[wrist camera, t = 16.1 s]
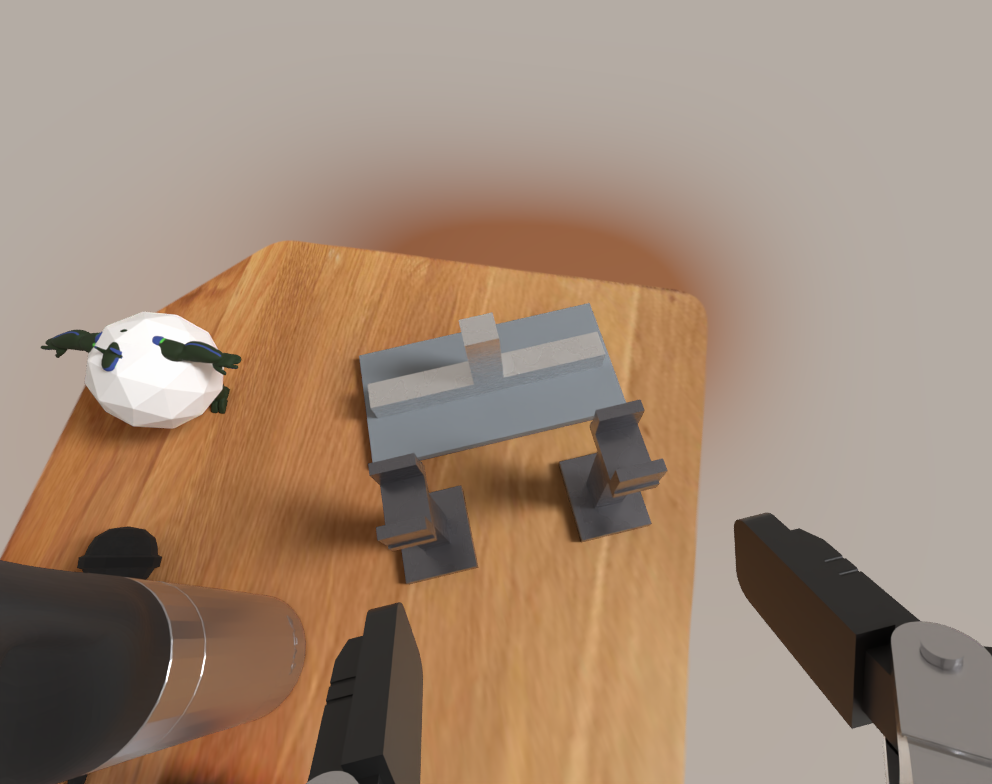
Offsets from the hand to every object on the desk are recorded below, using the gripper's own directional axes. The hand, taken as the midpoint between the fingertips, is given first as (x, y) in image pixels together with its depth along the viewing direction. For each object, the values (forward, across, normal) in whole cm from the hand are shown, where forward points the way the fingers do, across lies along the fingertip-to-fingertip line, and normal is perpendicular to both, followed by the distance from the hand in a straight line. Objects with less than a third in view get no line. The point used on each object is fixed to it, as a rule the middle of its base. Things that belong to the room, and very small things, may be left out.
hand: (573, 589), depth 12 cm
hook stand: (+29, 0, +17) cm, 34 cm away
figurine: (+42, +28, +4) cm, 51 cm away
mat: (+38, 0, +8) cm, 39 cm away
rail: (+38, 0, +7) cm, 38 cm away
